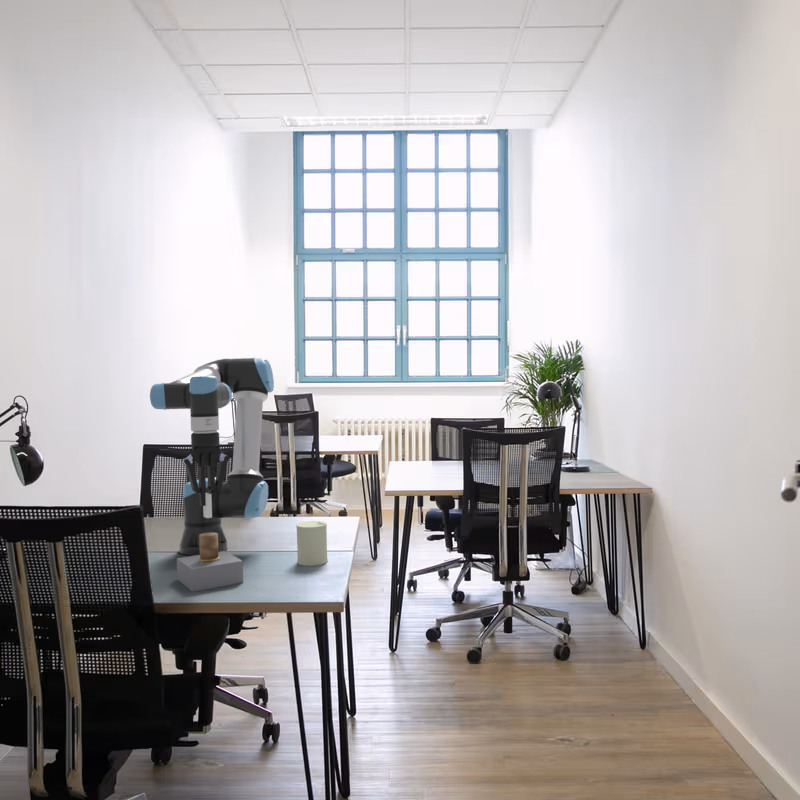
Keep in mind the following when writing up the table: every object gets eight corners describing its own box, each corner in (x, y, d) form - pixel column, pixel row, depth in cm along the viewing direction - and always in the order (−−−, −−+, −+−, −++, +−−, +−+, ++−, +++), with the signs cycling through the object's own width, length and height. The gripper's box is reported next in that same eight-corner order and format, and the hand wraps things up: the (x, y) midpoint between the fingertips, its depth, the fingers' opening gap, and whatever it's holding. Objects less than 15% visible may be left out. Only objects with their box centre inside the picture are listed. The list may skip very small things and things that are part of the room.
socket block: (225, 571, 213) (225, 550, 213) (243, 582, 202) (242, 560, 202) (177, 579, 206) (176, 558, 206) (192, 591, 194) (191, 569, 194)
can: (327, 565, 218) (326, 525, 217) (296, 566, 217) (295, 526, 217) (328, 557, 227) (327, 518, 226) (298, 558, 226) (297, 519, 226)
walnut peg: (216, 577, 208) (214, 531, 207) (222, 581, 203) (221, 534, 202) (197, 580, 205) (195, 534, 204) (203, 585, 200) (202, 537, 200)
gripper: (185, 434, 195) (188, 522, 196) (232, 431, 202) (235, 516, 203) (177, 432, 202) (180, 517, 203) (223, 429, 209) (225, 512, 210)
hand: (207, 516), depth 203 cm, fingers closed
